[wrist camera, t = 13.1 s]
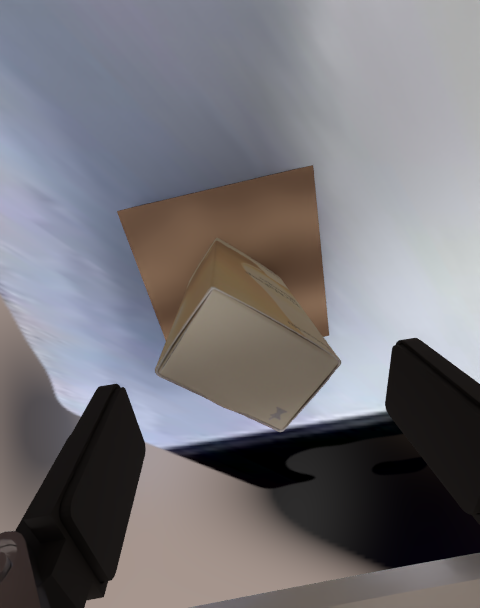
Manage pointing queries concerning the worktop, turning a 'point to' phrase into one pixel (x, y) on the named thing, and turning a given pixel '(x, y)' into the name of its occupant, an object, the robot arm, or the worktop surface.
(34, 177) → the worktop surface
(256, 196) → the walnut block
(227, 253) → the skincare box
